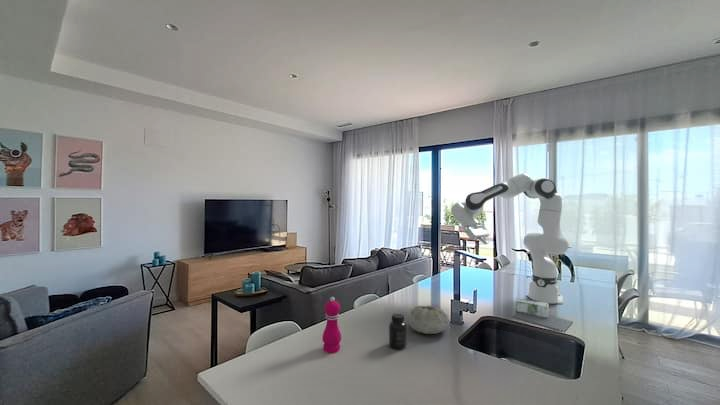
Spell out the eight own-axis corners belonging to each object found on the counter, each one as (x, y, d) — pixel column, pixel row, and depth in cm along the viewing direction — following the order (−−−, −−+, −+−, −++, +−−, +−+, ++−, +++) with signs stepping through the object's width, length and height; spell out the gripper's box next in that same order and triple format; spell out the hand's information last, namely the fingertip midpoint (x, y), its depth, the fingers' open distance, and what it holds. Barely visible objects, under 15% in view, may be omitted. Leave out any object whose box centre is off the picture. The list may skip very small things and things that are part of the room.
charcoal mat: (523, 309, 157) (523, 308, 157) (572, 322, 141) (573, 321, 141) (512, 317, 146) (512, 316, 146) (564, 332, 130) (564, 331, 130)
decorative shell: (415, 318, 142) (416, 298, 142) (453, 327, 133) (453, 305, 133) (402, 333, 127) (402, 310, 127) (443, 343, 118) (444, 319, 118)
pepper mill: (326, 355, 107) (327, 301, 107) (319, 346, 113) (320, 295, 113) (344, 351, 110) (345, 298, 110) (336, 343, 117) (337, 293, 116)
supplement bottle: (407, 343, 117) (408, 313, 117) (404, 351, 111) (405, 320, 111) (390, 340, 120) (391, 311, 119) (386, 348, 113) (387, 317, 113)
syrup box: (516, 308, 157) (548, 314, 150) (515, 312, 152) (548, 318, 145) (516, 297, 157) (548, 303, 150) (516, 301, 152) (549, 306, 145)
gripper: (466, 222, 167) (483, 241, 160) (482, 221, 181) (498, 239, 174) (458, 229, 170) (474, 248, 163) (475, 228, 184) (490, 245, 177)
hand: (487, 243), depth 169 cm, fingers closed
